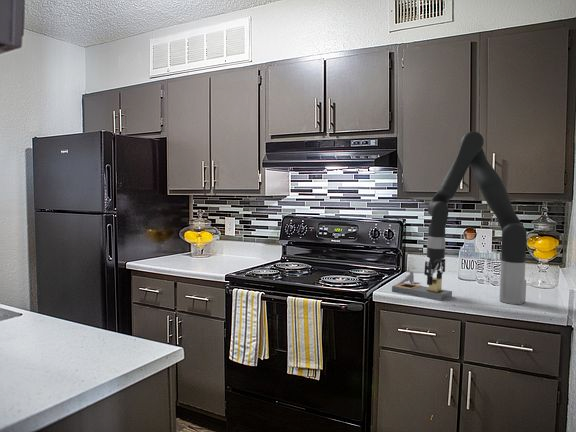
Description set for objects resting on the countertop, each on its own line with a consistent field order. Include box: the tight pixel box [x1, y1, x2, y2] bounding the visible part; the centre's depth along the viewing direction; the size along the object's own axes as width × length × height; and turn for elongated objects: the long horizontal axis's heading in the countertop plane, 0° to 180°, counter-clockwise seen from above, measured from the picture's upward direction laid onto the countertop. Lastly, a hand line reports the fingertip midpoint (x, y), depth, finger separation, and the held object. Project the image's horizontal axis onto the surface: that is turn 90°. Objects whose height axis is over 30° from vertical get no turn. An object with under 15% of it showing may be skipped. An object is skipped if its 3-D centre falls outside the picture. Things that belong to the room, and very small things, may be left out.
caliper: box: [394, 270, 415, 285], centre depth 227 cm, size 20×1×6 cm, turn 139°
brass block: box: [428, 276, 443, 293], centre depth 204 cm, size 4×4×8 cm
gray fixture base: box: [391, 282, 453, 302], centre depth 209 cm, size 24×10×3 cm, turn 46°
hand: (434, 283), depth 205 cm, fingers open, 8 cm apart
